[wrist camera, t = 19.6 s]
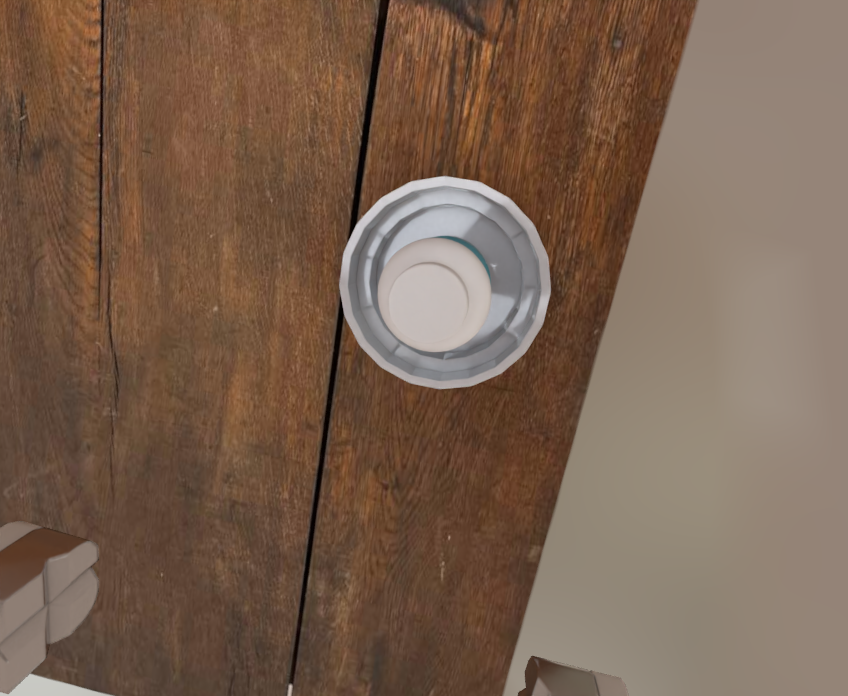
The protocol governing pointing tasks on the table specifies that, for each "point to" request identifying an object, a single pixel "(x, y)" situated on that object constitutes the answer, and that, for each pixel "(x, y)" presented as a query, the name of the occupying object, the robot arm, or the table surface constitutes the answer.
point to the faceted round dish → (503, 251)
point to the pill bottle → (435, 293)
